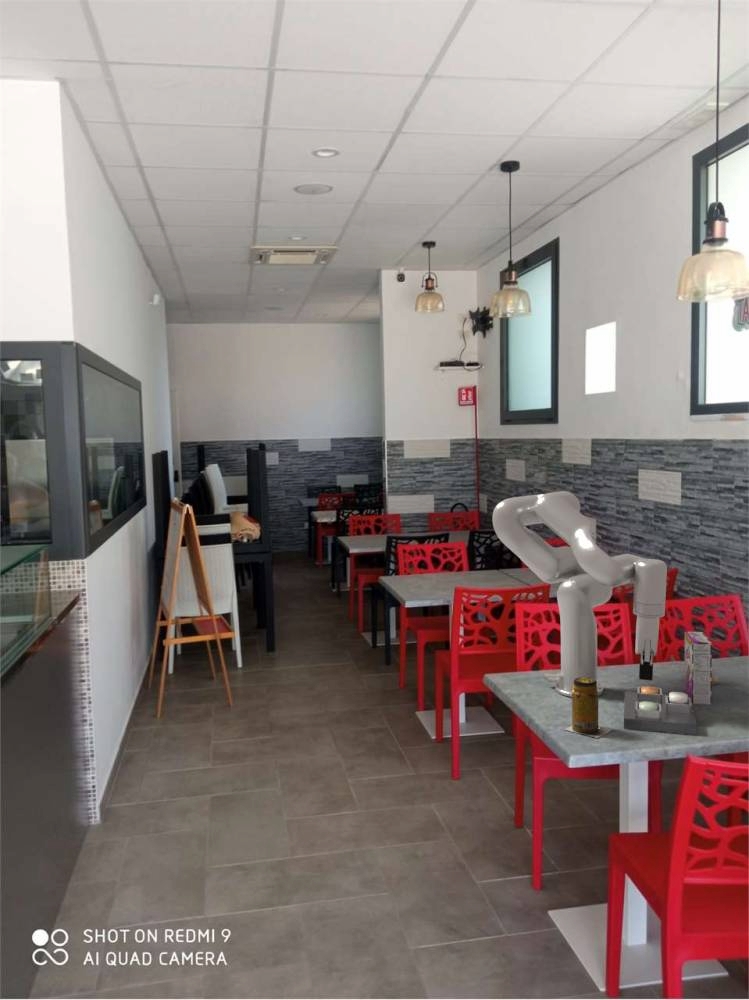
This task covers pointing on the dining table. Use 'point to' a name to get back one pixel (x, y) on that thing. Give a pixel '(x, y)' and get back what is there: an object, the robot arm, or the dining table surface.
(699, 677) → the candy bar box
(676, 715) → the button panel
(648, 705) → the sage button
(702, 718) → the dining table surface
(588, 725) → the condiment
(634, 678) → the dining table surface
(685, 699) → the cream button
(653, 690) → the terracotta button
